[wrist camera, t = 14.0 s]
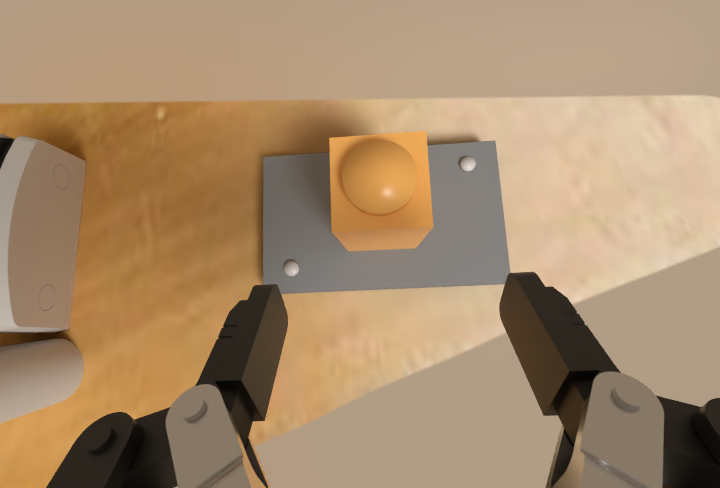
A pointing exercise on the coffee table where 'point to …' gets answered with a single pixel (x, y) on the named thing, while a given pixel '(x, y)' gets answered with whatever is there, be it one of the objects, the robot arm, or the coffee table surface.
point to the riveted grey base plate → (397, 266)
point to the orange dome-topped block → (380, 191)
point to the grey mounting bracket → (37, 375)
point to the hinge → (38, 234)
